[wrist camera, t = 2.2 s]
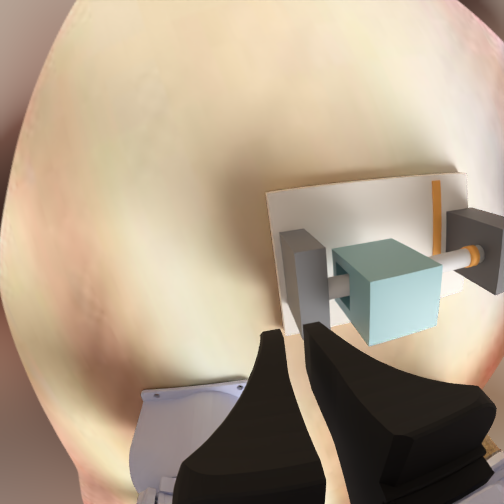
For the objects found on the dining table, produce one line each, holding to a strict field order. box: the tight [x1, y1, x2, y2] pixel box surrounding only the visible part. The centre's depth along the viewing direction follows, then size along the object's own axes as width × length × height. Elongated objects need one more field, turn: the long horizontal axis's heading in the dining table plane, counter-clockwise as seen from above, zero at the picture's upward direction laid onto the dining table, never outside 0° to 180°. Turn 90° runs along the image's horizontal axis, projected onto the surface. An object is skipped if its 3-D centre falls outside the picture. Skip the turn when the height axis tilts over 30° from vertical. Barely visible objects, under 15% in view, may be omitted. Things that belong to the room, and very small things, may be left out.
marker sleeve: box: [332, 238, 443, 346], centre depth 15 cm, size 4×3×5 cm
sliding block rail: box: [265, 172, 504, 340], centre depth 18 cm, size 16×10×7 cm, turn 98°
